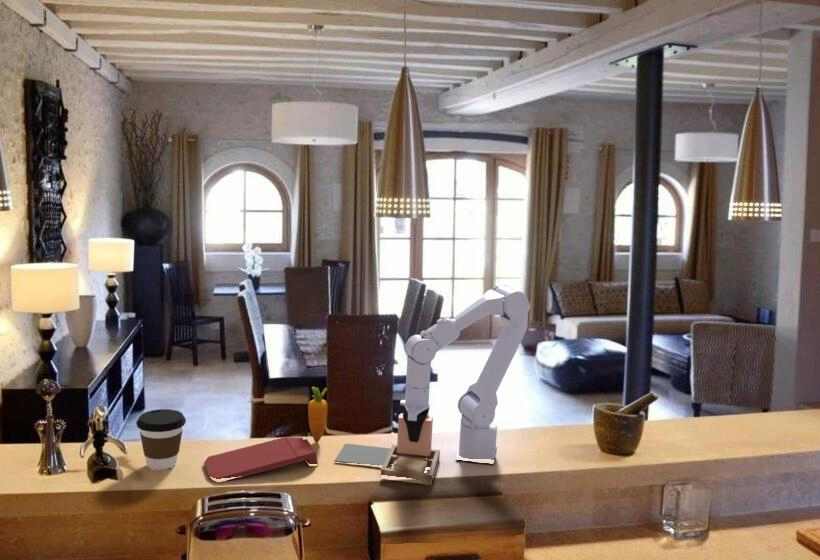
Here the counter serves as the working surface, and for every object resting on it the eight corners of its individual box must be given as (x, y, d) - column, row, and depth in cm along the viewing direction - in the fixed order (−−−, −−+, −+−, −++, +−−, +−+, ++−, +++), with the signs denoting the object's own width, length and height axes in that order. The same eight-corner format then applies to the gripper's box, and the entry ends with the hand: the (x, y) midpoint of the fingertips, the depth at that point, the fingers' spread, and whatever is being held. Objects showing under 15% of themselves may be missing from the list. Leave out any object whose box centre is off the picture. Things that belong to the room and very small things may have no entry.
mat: (391, 450, 198) (391, 448, 198) (383, 468, 187) (383, 466, 187) (345, 445, 200) (345, 443, 200) (334, 463, 189) (334, 460, 189)
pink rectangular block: (430, 451, 192) (432, 416, 190) (429, 456, 189) (431, 421, 188) (398, 447, 193) (400, 413, 192) (396, 452, 190) (398, 417, 189)
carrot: (328, 439, 203) (330, 384, 200) (324, 446, 198) (326, 390, 195) (309, 437, 203) (311, 382, 201) (304, 445, 199) (306, 388, 196)
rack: (439, 459, 194) (439, 450, 194) (431, 485, 180) (432, 475, 179) (391, 454, 196) (392, 444, 196) (380, 479, 181) (380, 469, 181)
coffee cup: (130, 461, 184) (129, 413, 182) (175, 452, 190) (175, 405, 188) (146, 479, 175) (145, 428, 173) (193, 468, 182) (193, 419, 180)
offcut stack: (427, 474, 186) (428, 460, 185) (422, 483, 181) (422, 469, 181) (395, 469, 188) (396, 455, 187) (389, 477, 183) (389, 463, 183)
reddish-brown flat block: (214, 499, 176) (320, 469, 185) (211, 479, 175) (317, 451, 184) (205, 476, 187) (306, 450, 196) (202, 458, 186) (303, 432, 195)
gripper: (406, 374, 196) (403, 426, 198) (396, 393, 182) (393, 448, 184) (434, 377, 195) (431, 428, 197) (426, 396, 181) (423, 451, 183)
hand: (414, 438), depth 191 cm, fingers closed on pink rectangular block, 3 cm apart
